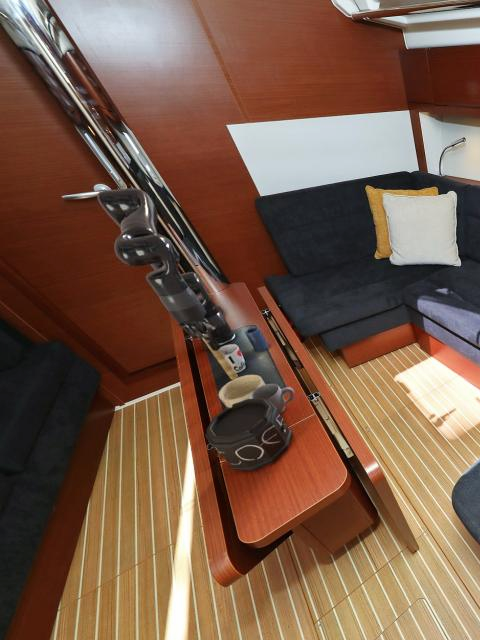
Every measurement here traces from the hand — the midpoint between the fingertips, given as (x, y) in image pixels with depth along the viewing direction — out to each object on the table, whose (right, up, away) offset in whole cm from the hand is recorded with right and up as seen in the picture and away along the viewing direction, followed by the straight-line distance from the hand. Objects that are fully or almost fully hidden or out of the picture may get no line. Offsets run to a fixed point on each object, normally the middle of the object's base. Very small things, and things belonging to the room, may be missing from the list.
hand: (214, 348), depth 107 cm
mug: (+14, -23, +12) cm, 29 cm away
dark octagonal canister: (+18, -33, -2) cm, 38 cm away
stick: (0, -10, +8) cm, 13 cm away
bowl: (0, -20, +15) cm, 25 cm away
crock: (-15, -1, +40) cm, 43 cm away
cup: (-16, -10, +29) cm, 35 cm away
